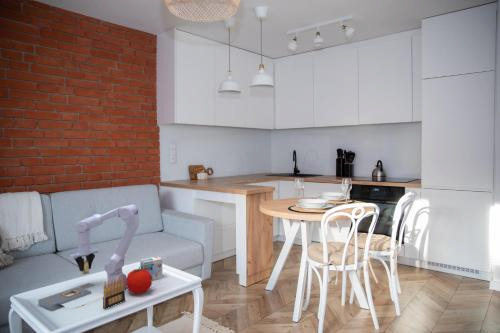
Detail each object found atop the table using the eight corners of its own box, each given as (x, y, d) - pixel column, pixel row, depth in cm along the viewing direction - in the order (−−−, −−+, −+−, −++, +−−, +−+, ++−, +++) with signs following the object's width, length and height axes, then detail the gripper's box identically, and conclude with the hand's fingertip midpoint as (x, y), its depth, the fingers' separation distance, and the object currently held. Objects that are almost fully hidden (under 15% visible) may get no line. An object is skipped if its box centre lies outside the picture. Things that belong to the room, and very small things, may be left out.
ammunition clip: (105, 309, 163) (104, 282, 163) (102, 308, 164) (101, 282, 164) (125, 300, 172) (124, 275, 172) (122, 300, 173) (121, 274, 173)
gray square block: (95, 287, 190) (95, 284, 190) (84, 291, 185) (84, 288, 185) (88, 285, 193) (88, 282, 193) (78, 289, 188) (77, 286, 188)
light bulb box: (144, 282, 197) (143, 262, 196) (140, 278, 202) (139, 259, 202) (163, 278, 203) (162, 258, 202) (159, 274, 208) (158, 255, 208)
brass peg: (90, 272, 189) (90, 260, 188) (84, 274, 186) (83, 262, 185) (86, 271, 191) (86, 259, 190) (80, 273, 188) (79, 261, 187)
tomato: (145, 285, 191) (144, 263, 191) (157, 292, 181) (156, 269, 181) (122, 291, 183) (121, 269, 183) (133, 299, 173) (132, 275, 173)
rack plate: (91, 296, 178) (91, 291, 178) (52, 311, 163) (51, 304, 162) (77, 291, 185) (77, 286, 185) (38, 305, 169) (38, 299, 169)
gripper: (92, 239, 196) (93, 265, 196) (66, 245, 184) (67, 272, 184) (100, 241, 192) (101, 267, 192) (73, 247, 180) (75, 275, 180)
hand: (85, 270), depth 188 cm, fingers closed on brass peg, 3 cm apart
